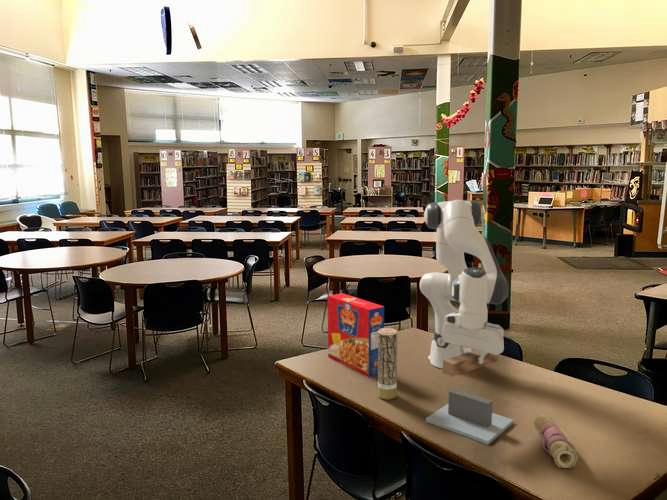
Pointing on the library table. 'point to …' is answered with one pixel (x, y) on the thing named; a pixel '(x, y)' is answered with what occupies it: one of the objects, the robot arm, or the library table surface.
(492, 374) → the library table surface
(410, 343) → the library table surface
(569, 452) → the scroll
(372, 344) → the pasta box
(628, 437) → the library table surface
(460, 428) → the ridge stand
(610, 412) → the library table surface
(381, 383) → the bark cylinder
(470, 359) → the light brown wooden bar
